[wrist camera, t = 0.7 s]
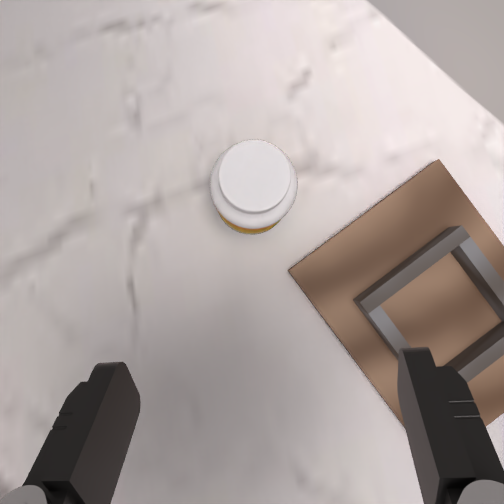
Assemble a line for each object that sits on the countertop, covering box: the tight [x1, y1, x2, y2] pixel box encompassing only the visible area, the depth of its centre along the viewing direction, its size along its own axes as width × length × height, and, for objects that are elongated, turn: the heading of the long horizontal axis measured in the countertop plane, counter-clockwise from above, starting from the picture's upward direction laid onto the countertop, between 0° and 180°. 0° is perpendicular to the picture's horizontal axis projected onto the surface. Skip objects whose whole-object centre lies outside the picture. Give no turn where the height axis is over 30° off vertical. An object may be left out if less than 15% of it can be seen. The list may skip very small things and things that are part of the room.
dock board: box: [288, 159, 504, 427], centre depth 32 cm, size 18×14×3 cm
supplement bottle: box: [210, 139, 298, 234], centre depth 28 cm, size 5×5×10 cm
